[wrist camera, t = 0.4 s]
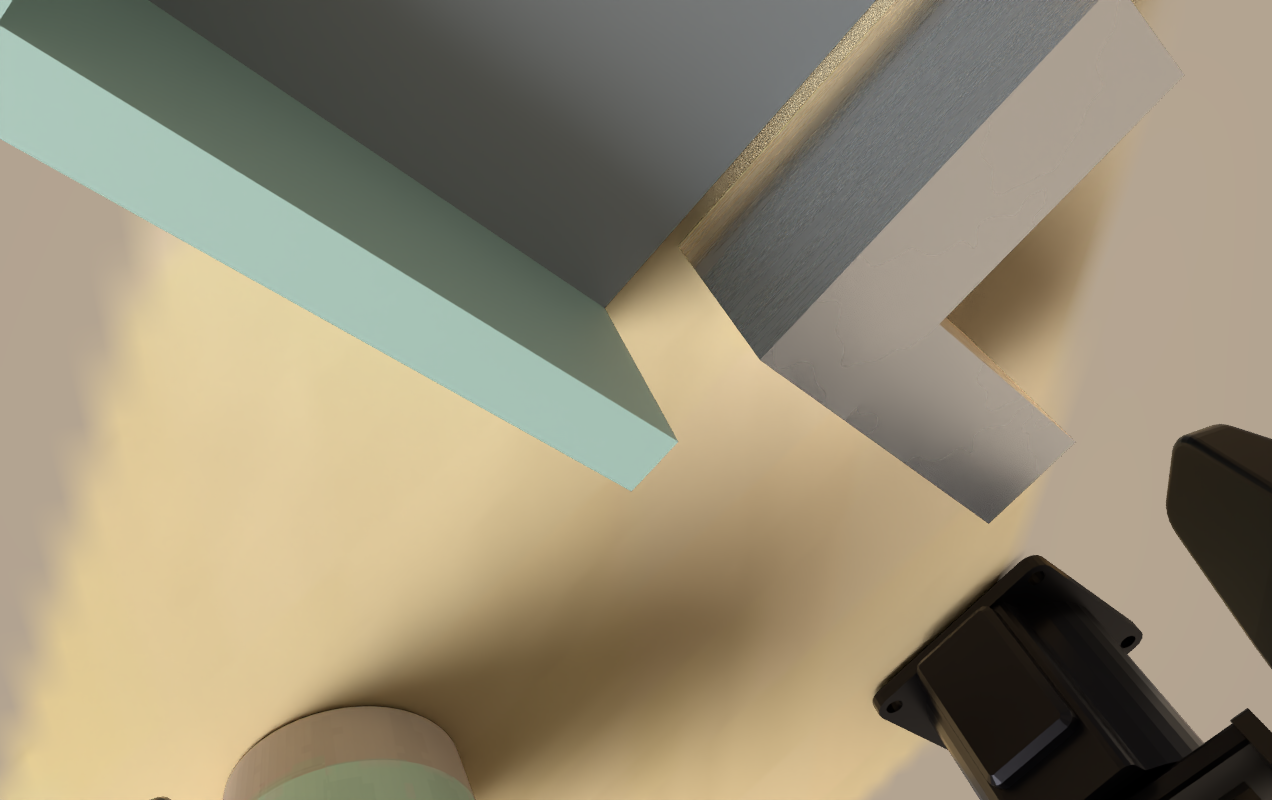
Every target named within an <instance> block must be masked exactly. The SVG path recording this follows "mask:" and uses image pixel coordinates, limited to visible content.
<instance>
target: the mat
mask: <svg viewBox="0 0 1272 800" xmlns="http://www.w3.org/2000/svg"><path fill="white" fill-rule="evenodd" d="M149 1H150V2H152V3H153V4H155V5H156V6H158V7H159V8H161V9H162V10H164V11H165V12H166V13H168V14H169V15H171V16H172V17H174V18H175V19H177V20H178V21H180V22H181V23H183V24H184V25H186V26H187V27H189V28H190V29H192V30H193V31H195V32H196V33H198V34H199V35H201V36H202V37H204V38H205V39H207V40H208V41H209V42H211V43H212V44H214V45H215V46H217V47H218V48H220V49H221V50H223V51H224V52H226V53H227V54H229V55H230V56H232V57H233V58H235V59H236V60H238V61H239V62H241V63H242V64H244V65H245V66H247V67H248V68H249V69H251V70H252V71H254V72H255V73H257V74H258V75H260V76H261V77H263V78H264V79H266V80H267V81H269V82H270V83H272V84H273V85H275V86H276V87H278V88H279V89H281V90H282V91H284V92H285V93H287V94H288V95H290V96H291V97H292V98H294V99H295V100H297V101H298V102H300V103H301V104H303V105H304V106H306V107H307V108H309V109H310V110H312V111H313V112H315V113H316V114H318V115H319V116H321V117H322V118H324V119H325V120H327V121H328V122H330V123H331V124H332V125H334V126H335V127H337V128H338V129H340V130H341V131H343V132H344V133H346V134H347V135H349V136H350V137H352V138H353V139H355V140H356V141H358V142H359V143H361V144H362V145H364V146H365V147H367V148H368V149H370V150H371V151H373V152H374V153H375V154H377V155H378V156H380V157H381V158H383V159H384V160H386V161H387V162H389V163H390V164H392V165H393V166H395V167H396V168H398V169H399V170H401V171H402V172H404V173H405V174H407V175H408V176H410V177H411V178H413V179H414V180H415V181H417V182H418V183H420V184H421V185H423V186H424V187H426V188H427V189H429V190H430V191H432V192H433V193H435V194H436V195H438V196H439V197H441V198H442V199H444V200H445V201H447V202H448V203H450V204H451V205H453V206H454V207H456V208H457V209H458V210H460V211H461V212H463V213H464V214H466V215H467V216H469V217H470V218H472V219H473V220H475V221H476V222H478V223H479V224H481V225H482V226H484V227H485V228H487V229H488V230H490V231H491V232H493V233H494V234H496V235H497V236H498V237H500V238H501V239H503V240H504V241H506V242H507V243H509V244H510V245H512V246H513V247H515V248H516V249H518V250H519V251H521V252H522V253H524V254H525V255H527V256H528V257H530V258H531V259H533V260H534V261H536V262H537V263H539V264H540V265H541V266H543V267H544V268H546V269H547V270H549V271H550V272H552V273H553V274H555V275H556V276H558V277H559V278H561V279H562V280H564V281H565V282H567V283H568V284H570V285H571V286H573V287H574V288H576V289H577V290H579V291H580V292H581V293H583V294H584V295H586V296H587V297H589V298H590V299H592V300H593V301H595V302H596V303H598V304H599V305H601V306H602V307H604V308H605V307H606V306H607V305H608V304H609V303H610V301H611V300H612V299H613V298H614V297H615V296H616V295H617V294H618V292H619V291H620V290H621V289H622V288H623V287H624V286H625V284H626V283H627V282H628V281H629V280H630V279H631V278H632V277H633V275H634V274H635V273H636V272H637V271H638V270H639V269H640V267H641V266H642V265H643V264H644V263H645V262H646V261H647V259H648V258H649V257H650V256H651V255H652V254H653V253H654V252H655V250H656V249H657V248H658V247H659V246H660V245H661V244H662V242H663V241H664V240H665V239H666V238H667V237H668V236H669V234H670V233H671V232H672V231H673V230H674V229H675V228H676V227H677V225H678V224H679V223H680V222H681V221H682V220H683V219H684V217H685V216H686V215H687V214H688V213H689V212H690V211H691V209H692V208H693V207H694V206H695V205H696V204H697V203H698V202H699V200H700V199H701V198H702V197H703V196H704V195H705V194H706V192H707V191H708V190H709V189H710V188H711V187H712V186H713V185H714V183H715V182H716V181H717V180H718V179H719V178H720V177H721V175H722V174H723V173H724V172H725V171H726V170H727V169H728V167H729V166H730V165H731V164H732V163H733V162H734V161H735V160H736V158H737V157H738V156H739V155H740V154H741V153H742V152H743V150H744V149H745V148H746V147H747V146H748V145H749V144H750V142H751V141H752V140H753V139H754V138H755V137H756V136H757V135H758V133H759V132H760V131H761V130H762V129H763V128H764V127H765V125H766V124H767V123H768V122H769V121H770V120H771V119H772V118H773V116H774V115H775V114H776V113H777V112H778V111H779V110H780V108H781V107H782V106H783V105H784V104H785V103H786V102H787V100H788V99H789V98H790V97H791V96H792V95H793V94H794V93H795V91H796V90H797V89H798V88H799V87H800V86H801V85H802V83H803V82H804V81H805V80H806V79H807V78H808V77H809V75H810V74H811V73H812V72H813V71H814V70H815V69H816V68H817V66H818V65H819V64H820V63H821V62H822V61H823V60H824V58H825V57H826V56H827V55H828V54H829V53H830V52H831V50H832V49H833V48H834V47H835V46H836V45H837V44H838V43H839V41H840V40H841V39H842V38H843V37H844V36H845V35H846V33H847V32H848V31H849V30H850V29H851V28H852V27H853V26H854V24H855V23H856V22H857V21H858V20H859V19H860V18H861V16H862V15H863V14H864V13H865V12H866V11H867V10H868V8H869V7H870V6H871V5H872V4H873V3H874V2H875V1H876V0H149Z"/></svg>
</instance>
